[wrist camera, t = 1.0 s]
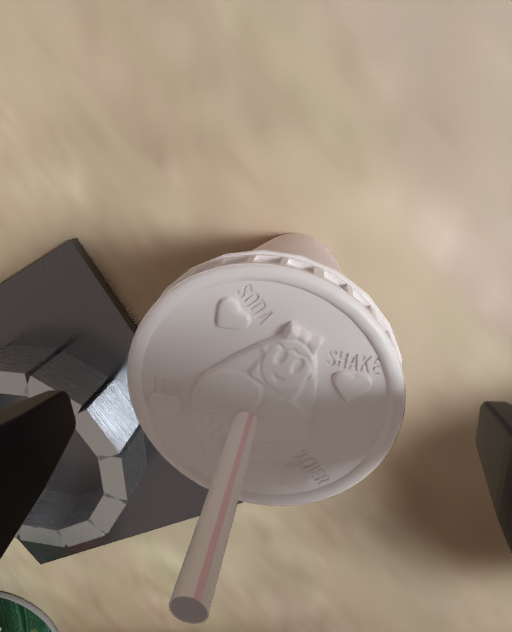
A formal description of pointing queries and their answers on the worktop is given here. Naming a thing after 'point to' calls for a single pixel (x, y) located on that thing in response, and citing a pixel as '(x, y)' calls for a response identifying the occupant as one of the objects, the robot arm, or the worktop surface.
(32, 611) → the canned tomato
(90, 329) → the duct collar
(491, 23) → the worktop surface
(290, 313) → the smoothie
